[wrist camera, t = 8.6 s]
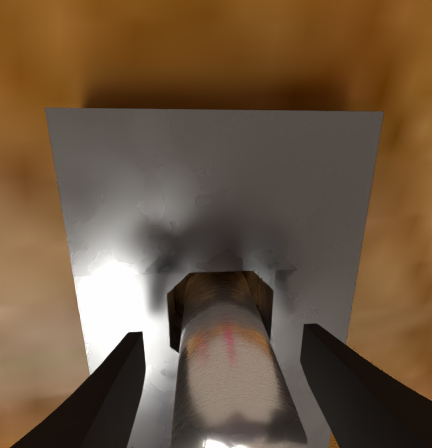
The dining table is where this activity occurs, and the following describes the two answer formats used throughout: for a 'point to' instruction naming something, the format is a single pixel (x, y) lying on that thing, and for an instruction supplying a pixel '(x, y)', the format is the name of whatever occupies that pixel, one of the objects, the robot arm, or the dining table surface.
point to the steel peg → (229, 372)
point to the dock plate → (212, 229)
